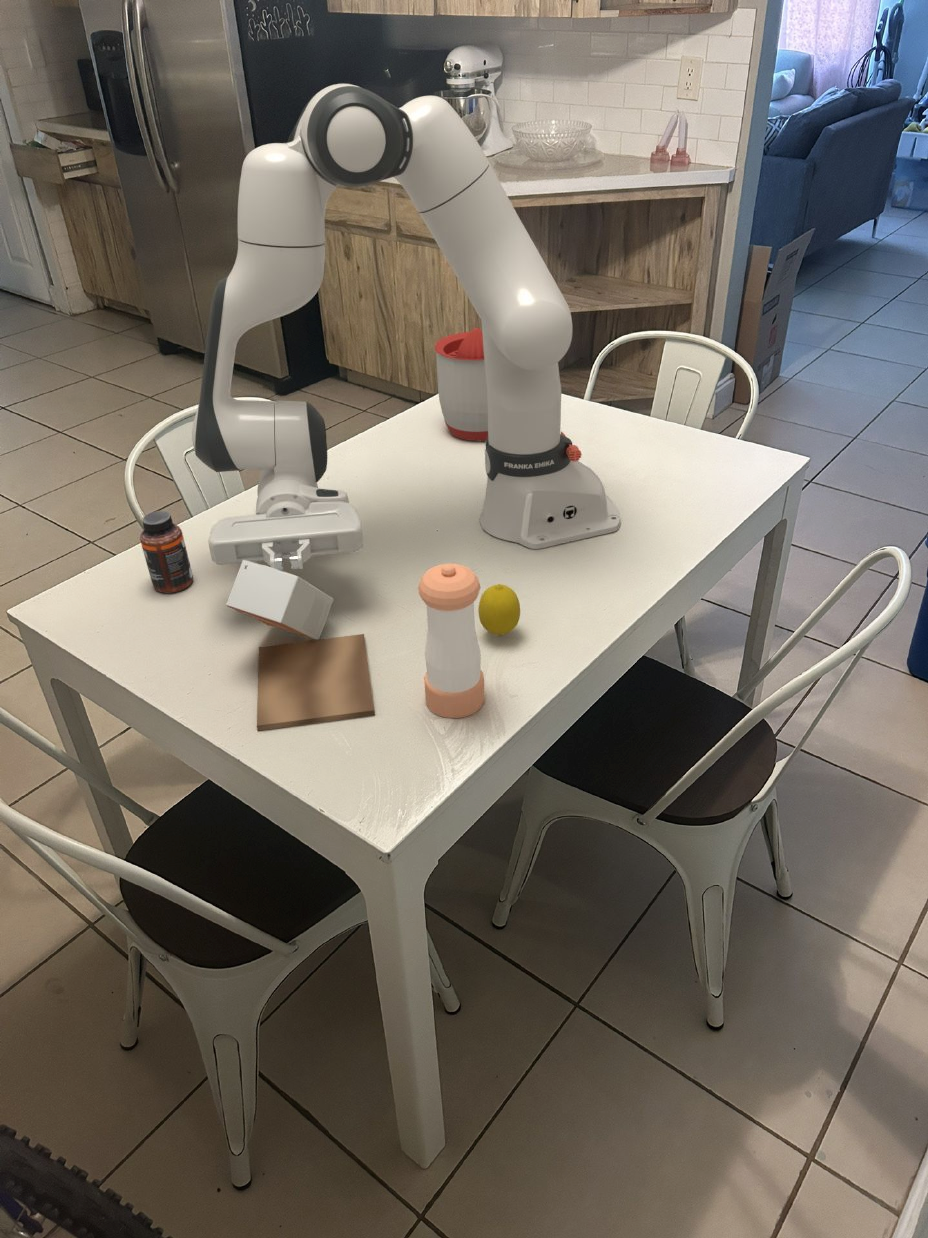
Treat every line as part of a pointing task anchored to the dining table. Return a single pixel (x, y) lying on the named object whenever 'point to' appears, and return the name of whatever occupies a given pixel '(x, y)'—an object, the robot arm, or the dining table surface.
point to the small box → (280, 600)
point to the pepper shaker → (452, 641)
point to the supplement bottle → (165, 553)
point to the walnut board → (313, 682)
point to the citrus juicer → (463, 384)
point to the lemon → (499, 609)
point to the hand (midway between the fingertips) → (286, 565)
